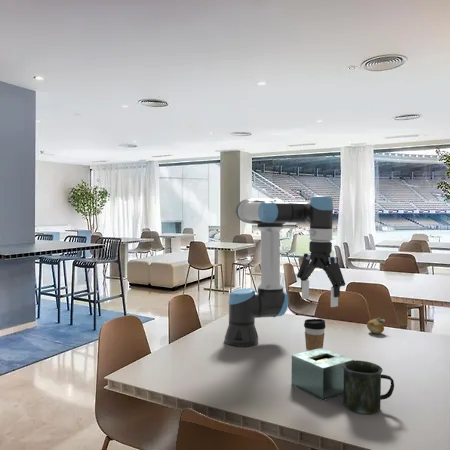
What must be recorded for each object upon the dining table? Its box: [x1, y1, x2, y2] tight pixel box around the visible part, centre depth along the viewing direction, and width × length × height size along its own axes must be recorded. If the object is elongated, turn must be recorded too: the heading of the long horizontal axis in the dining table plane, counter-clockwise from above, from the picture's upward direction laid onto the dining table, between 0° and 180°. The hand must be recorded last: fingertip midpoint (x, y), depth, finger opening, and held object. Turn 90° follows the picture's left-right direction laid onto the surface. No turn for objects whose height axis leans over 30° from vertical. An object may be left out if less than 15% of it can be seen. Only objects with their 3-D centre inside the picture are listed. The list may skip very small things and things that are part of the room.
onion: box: [366, 316, 386, 335], centre depth 196 cm, size 8×8×8 cm
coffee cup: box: [303, 318, 326, 352], centre depth 160 cm, size 8×8×15 cm
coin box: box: [291, 347, 354, 401], centre depth 132 cm, size 14×14×10 cm
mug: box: [342, 359, 395, 415], centre depth 118 cm, size 11×15×12 cm
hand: (319, 302), depth 138 cm, fingers open, 13 cm apart
